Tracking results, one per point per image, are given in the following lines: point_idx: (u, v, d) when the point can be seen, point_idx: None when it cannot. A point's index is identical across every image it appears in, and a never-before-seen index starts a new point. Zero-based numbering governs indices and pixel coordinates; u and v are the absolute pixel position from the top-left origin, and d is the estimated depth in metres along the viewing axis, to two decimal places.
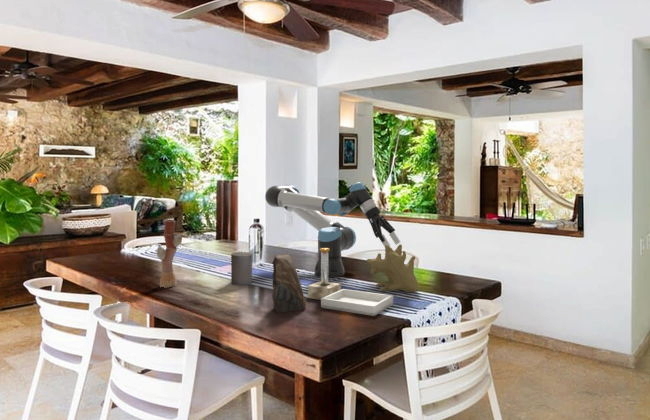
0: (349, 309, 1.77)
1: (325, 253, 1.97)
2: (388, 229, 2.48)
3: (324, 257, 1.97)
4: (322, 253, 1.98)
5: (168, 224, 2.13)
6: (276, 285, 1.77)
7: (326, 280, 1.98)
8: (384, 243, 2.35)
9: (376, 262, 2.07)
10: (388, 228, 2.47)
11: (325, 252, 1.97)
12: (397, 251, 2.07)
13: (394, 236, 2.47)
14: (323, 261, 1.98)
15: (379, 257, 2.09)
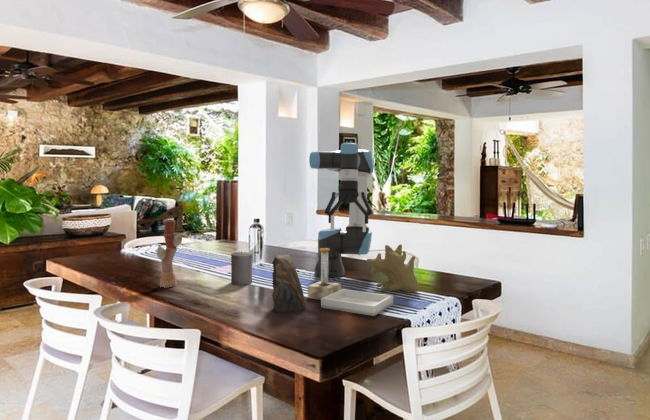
0: (349, 309, 1.77)
1: (325, 253, 1.97)
2: (361, 210, 2.00)
3: (324, 257, 1.97)
4: (322, 253, 1.98)
5: (168, 224, 2.13)
6: (276, 285, 1.77)
7: (326, 280, 1.98)
8: None
9: (376, 262, 2.07)
10: (360, 209, 1.99)
11: (325, 252, 1.97)
12: (397, 251, 2.07)
13: None
14: (323, 261, 1.98)
15: (379, 257, 2.09)
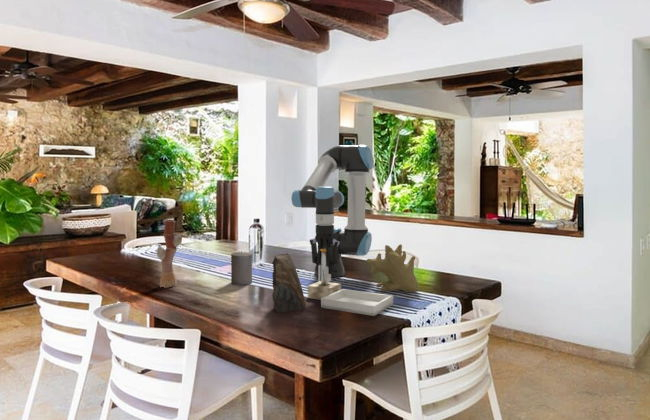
0: (349, 309, 1.77)
1: (325, 253, 1.97)
2: None
3: (324, 257, 1.97)
4: (322, 253, 1.98)
5: (168, 224, 2.13)
6: (276, 285, 1.77)
7: None
8: None
9: (376, 262, 2.07)
10: None
11: (325, 252, 1.97)
12: (397, 251, 2.07)
13: None
14: (323, 261, 1.98)
15: (379, 257, 2.09)
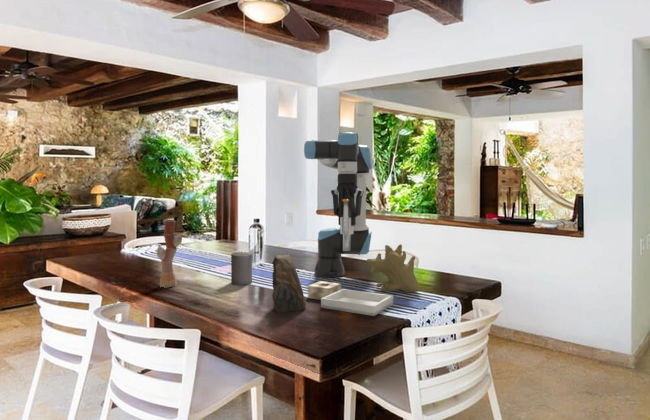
0: (349, 309, 1.77)
1: (348, 203, 1.86)
2: None
3: (346, 208, 1.86)
4: (344, 204, 1.86)
5: (168, 224, 2.13)
6: (276, 285, 1.77)
7: (348, 232, 1.87)
8: None
9: (376, 262, 2.07)
10: None
11: (347, 202, 1.86)
12: (397, 251, 2.07)
13: None
14: (345, 212, 1.86)
15: (379, 257, 2.09)
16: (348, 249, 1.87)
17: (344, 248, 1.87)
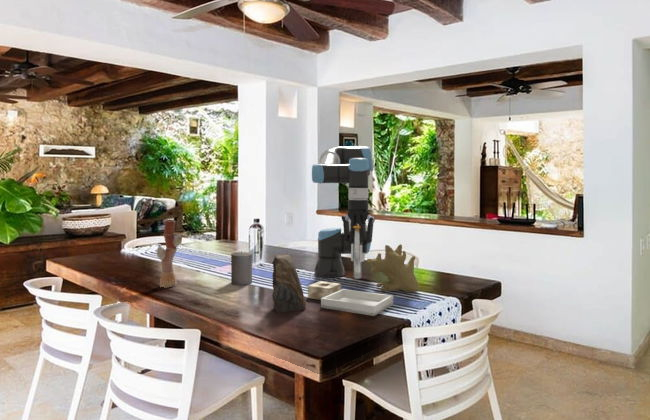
0: (349, 309, 1.77)
1: (359, 230, 1.82)
2: None
3: (358, 235, 1.82)
4: (355, 230, 1.83)
5: (168, 224, 2.13)
6: (276, 285, 1.77)
7: None
8: None
9: (376, 262, 2.07)
10: None
11: (359, 229, 1.82)
12: (397, 251, 2.07)
13: None
14: (356, 239, 1.82)
15: (379, 257, 2.09)
16: (359, 276, 1.84)
17: (355, 275, 1.84)
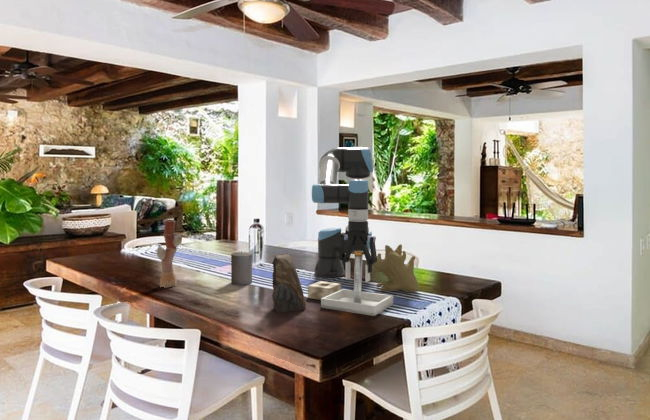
0: (349, 309, 1.77)
1: (360, 256, 1.83)
2: None
3: (358, 261, 1.83)
4: (356, 257, 1.83)
5: (168, 224, 2.13)
6: (276, 285, 1.77)
7: (360, 286, 1.84)
8: None
9: (376, 262, 2.07)
10: None
11: (359, 256, 1.83)
12: (397, 251, 2.07)
13: None
14: (357, 265, 1.83)
15: (379, 257, 2.09)
16: (359, 302, 1.84)
17: (355, 301, 1.85)
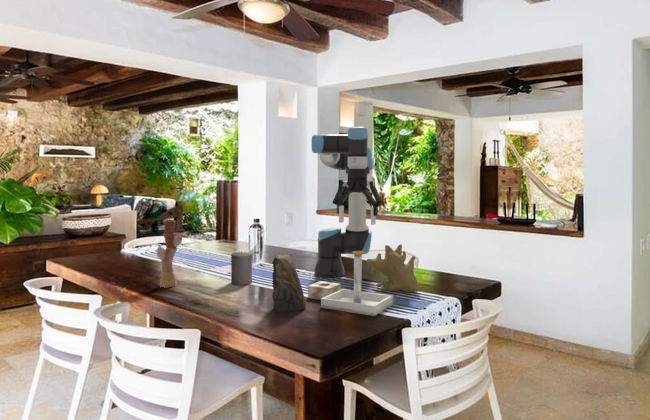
0: (349, 309, 1.77)
1: (359, 256, 1.83)
2: None
3: (358, 261, 1.83)
4: (355, 256, 1.83)
5: (168, 224, 2.13)
6: (276, 285, 1.77)
7: (359, 286, 1.84)
8: None
9: (376, 262, 2.07)
10: None
11: (359, 255, 1.83)
12: (397, 251, 2.07)
13: None
14: (356, 265, 1.83)
15: (379, 257, 2.09)
16: (359, 302, 1.85)
17: (355, 301, 1.85)
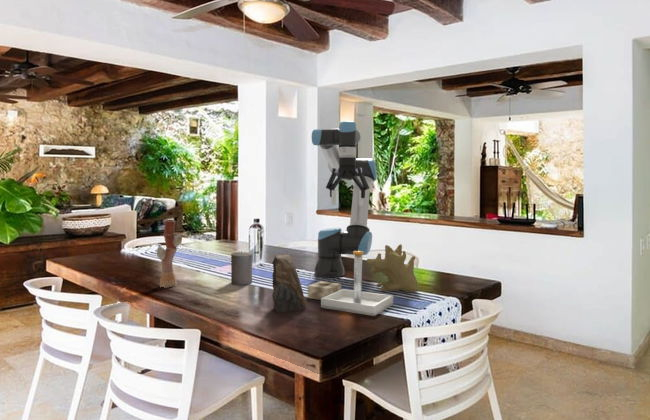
0: (349, 309, 1.77)
1: (359, 256, 1.83)
2: None
3: (358, 261, 1.83)
4: (356, 256, 1.83)
5: (168, 224, 2.13)
6: (276, 285, 1.77)
7: (359, 286, 1.84)
8: None
9: (376, 262, 2.07)
10: None
11: (359, 255, 1.83)
12: (397, 251, 2.07)
13: None
14: (357, 265, 1.83)
15: (379, 257, 2.09)
16: (359, 302, 1.85)
17: (355, 301, 1.85)
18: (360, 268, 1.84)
